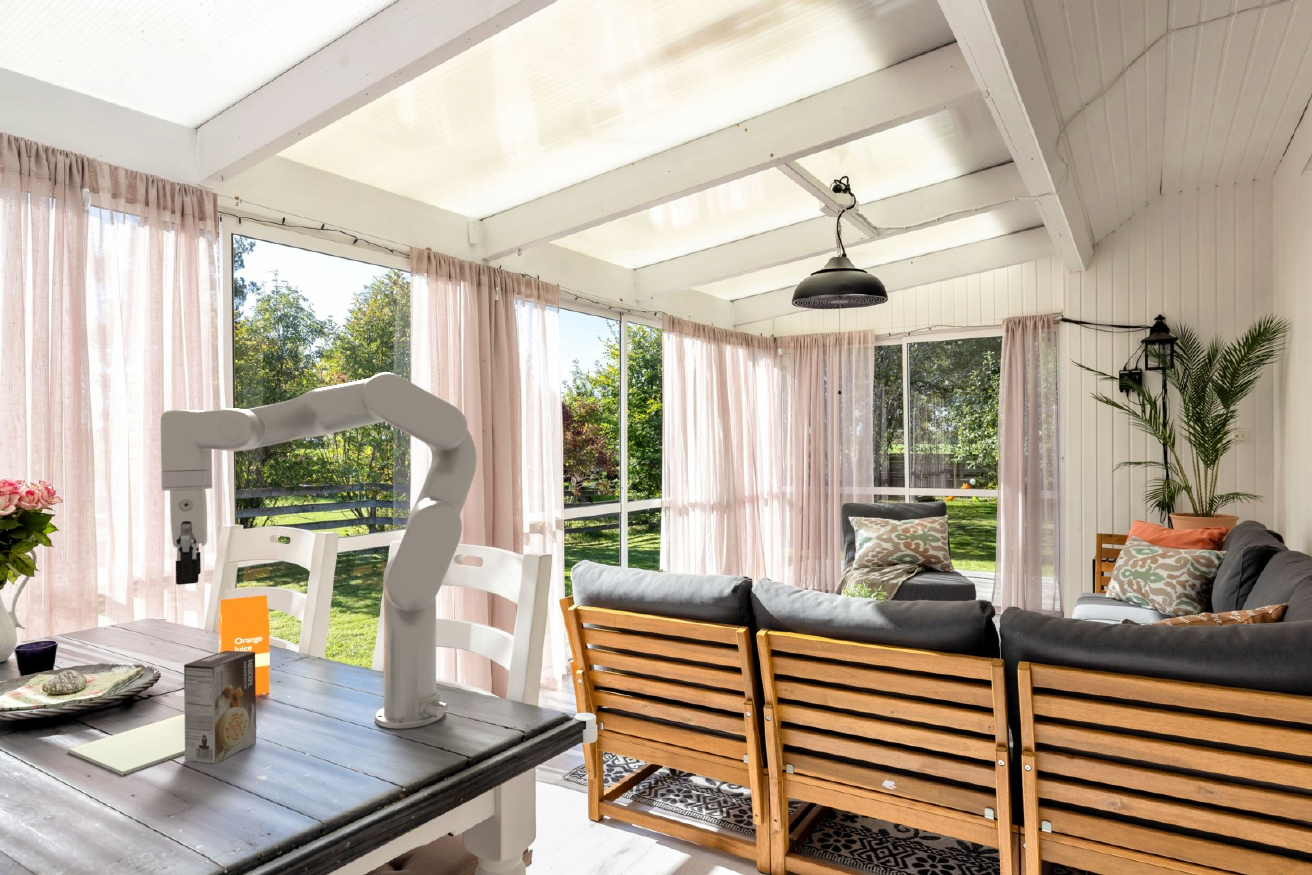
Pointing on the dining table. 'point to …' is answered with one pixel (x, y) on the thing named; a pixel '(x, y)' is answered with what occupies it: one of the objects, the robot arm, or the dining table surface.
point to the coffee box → (219, 705)
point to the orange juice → (247, 633)
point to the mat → (137, 746)
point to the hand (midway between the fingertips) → (188, 579)
